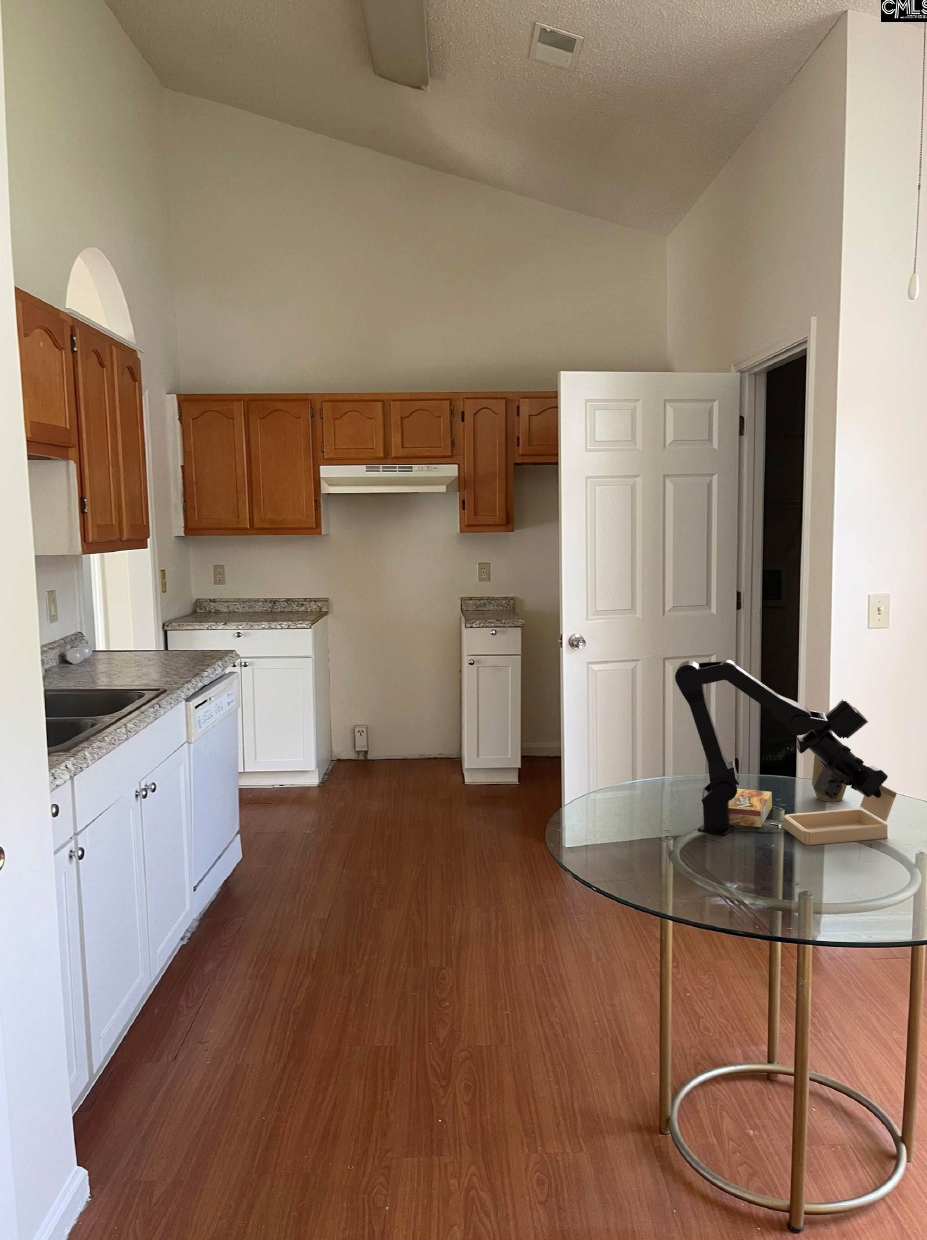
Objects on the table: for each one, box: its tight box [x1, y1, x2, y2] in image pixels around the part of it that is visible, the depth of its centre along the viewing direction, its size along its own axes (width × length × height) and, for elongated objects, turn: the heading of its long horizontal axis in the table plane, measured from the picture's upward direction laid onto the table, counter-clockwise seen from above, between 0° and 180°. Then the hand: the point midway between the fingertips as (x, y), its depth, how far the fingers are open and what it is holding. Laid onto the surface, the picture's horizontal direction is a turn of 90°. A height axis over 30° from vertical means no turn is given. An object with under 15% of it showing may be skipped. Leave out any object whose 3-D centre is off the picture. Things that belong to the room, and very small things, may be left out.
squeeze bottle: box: [811, 730, 847, 802], centre depth 215 cm, size 8×8×18 cm
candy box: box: [728, 788, 773, 828], centre depth 208 cm, size 9×4×15 cm
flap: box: [859, 784, 898, 822], centre depth 194 cm, size 1×10×7 cm, turn 4°
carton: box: [782, 808, 888, 846], centre depth 193 cm, size 18×12×3 cm, turn 94°
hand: (879, 796), depth 193 cm, fingers closed, pressing on flap
